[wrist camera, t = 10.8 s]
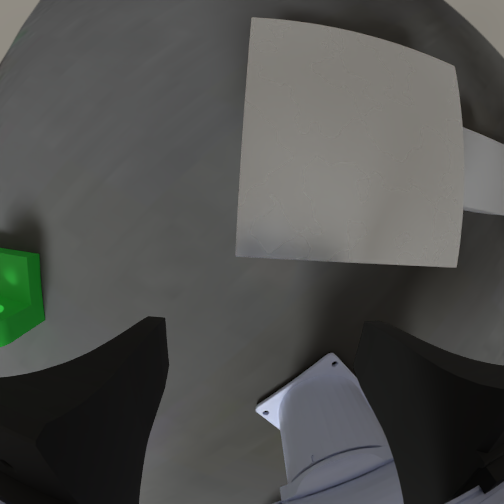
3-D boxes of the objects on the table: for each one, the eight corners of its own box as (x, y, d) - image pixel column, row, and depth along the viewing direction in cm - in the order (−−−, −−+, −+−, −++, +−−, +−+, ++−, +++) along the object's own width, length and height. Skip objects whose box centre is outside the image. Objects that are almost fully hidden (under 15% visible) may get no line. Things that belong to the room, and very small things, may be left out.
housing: (400, 248, 20) (456, 267, 13) (239, 237, 20) (235, 256, 13) (404, 96, 18) (454, 66, 11) (250, 71, 18) (251, 17, 11)
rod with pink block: (524, 234, 19) (560, 242, 14) (367, 210, 18) (405, 214, 13) (526, 164, 18) (562, 162, 13) (370, 110, 17) (404, 86, 12)
